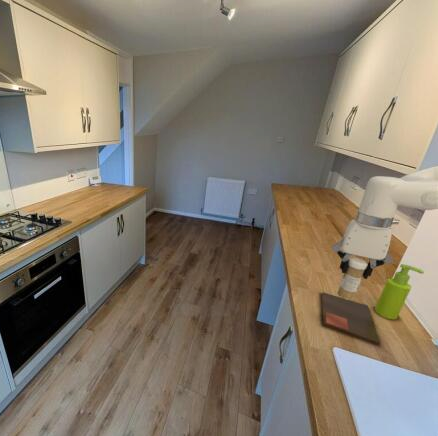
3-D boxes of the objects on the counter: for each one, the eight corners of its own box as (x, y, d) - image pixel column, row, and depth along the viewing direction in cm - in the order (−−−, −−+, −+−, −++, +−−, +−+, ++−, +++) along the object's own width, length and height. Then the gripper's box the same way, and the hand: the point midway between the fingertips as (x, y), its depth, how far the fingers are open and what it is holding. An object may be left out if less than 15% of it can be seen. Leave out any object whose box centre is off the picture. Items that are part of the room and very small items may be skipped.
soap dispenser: (399, 323, 82) (423, 274, 75) (373, 312, 87) (393, 265, 80) (402, 315, 85) (424, 267, 78) (376, 305, 90) (395, 259, 83)
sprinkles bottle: (340, 290, 80) (352, 255, 76) (357, 298, 77) (370, 262, 72) (333, 294, 78) (346, 258, 74) (350, 302, 75) (364, 265, 70)
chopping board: (321, 294, 96) (322, 291, 96) (367, 308, 89) (368, 305, 88) (323, 325, 80) (324, 322, 80) (378, 345, 73) (379, 342, 73)
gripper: (410, 222, 67) (387, 277, 73) (335, 211, 76) (320, 261, 82) (419, 230, 61) (393, 289, 67) (337, 217, 70) (320, 270, 76)
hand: (353, 273), depth 74 cm, fingers closed on sprinkles bottle, 4 cm apart
